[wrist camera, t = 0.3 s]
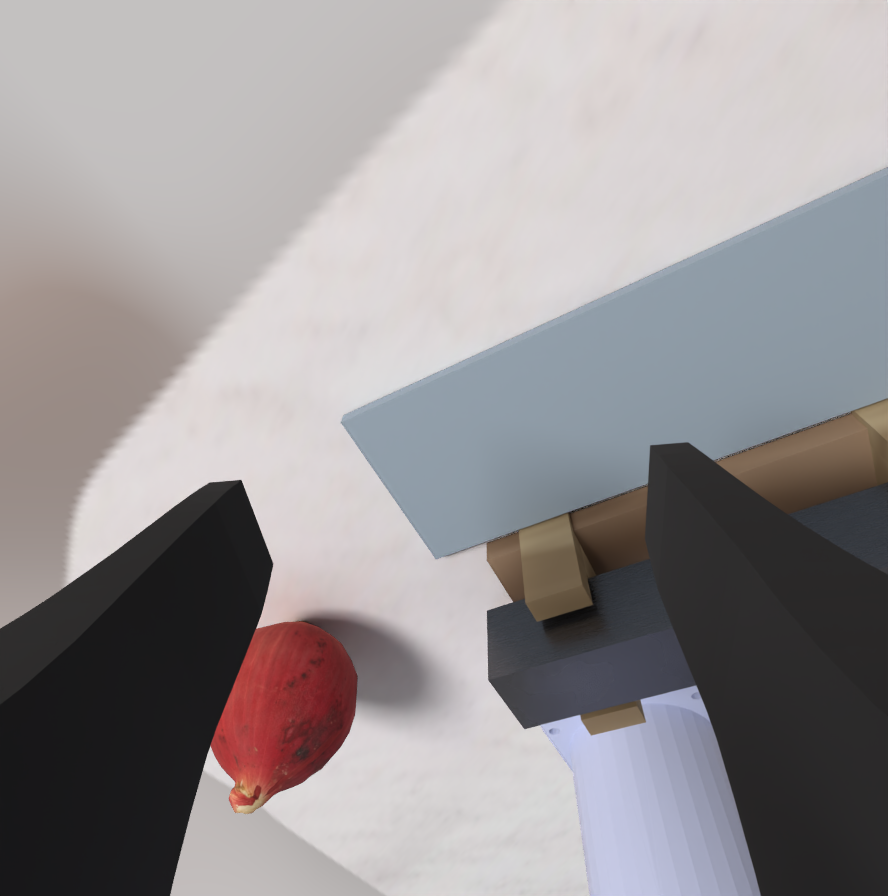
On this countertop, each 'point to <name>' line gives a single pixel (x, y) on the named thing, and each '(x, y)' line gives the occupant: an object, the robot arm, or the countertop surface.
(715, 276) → the mat
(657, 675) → the rail
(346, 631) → the countertop surface
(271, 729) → the onion
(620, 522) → the rack
